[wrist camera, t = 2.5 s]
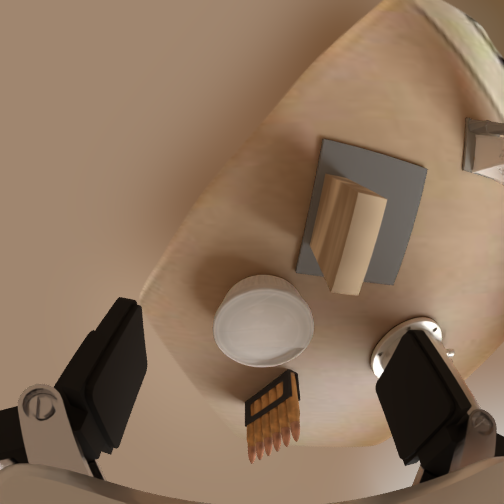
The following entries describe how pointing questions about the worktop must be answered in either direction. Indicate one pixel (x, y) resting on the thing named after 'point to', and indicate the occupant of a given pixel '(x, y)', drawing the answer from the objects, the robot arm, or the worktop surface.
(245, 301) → the ramekin
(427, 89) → the worktop surface
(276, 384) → the ammunition clip
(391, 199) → the mat
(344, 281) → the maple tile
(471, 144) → the skyscraper
